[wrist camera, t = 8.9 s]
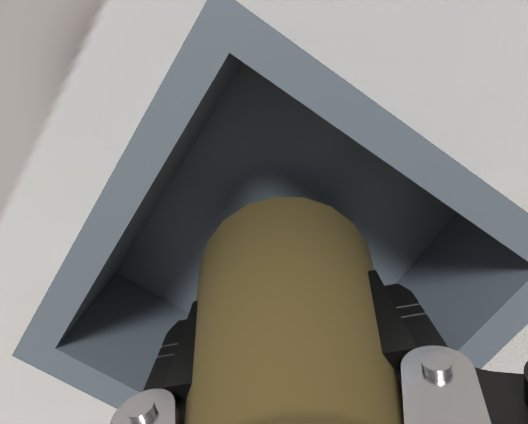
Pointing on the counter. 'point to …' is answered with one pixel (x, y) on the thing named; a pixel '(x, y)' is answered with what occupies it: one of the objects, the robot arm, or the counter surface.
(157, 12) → the counter surface
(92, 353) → the crate
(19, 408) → the counter surface
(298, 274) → the cork
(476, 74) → the counter surface
